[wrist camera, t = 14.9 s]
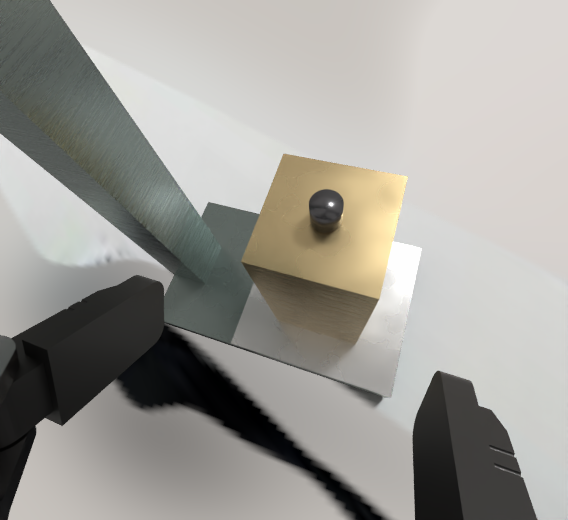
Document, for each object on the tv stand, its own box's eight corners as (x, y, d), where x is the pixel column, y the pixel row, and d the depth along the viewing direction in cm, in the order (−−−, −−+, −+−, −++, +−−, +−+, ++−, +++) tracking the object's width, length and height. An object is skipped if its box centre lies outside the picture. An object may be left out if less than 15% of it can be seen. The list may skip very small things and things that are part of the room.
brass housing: (373, 269, 22) (414, 159, 12) (355, 344, 20) (384, 290, 10) (301, 251, 23) (280, 136, 13) (278, 320, 21) (233, 250, 11)
